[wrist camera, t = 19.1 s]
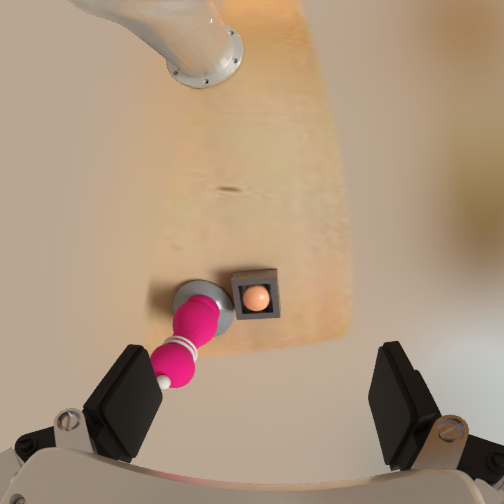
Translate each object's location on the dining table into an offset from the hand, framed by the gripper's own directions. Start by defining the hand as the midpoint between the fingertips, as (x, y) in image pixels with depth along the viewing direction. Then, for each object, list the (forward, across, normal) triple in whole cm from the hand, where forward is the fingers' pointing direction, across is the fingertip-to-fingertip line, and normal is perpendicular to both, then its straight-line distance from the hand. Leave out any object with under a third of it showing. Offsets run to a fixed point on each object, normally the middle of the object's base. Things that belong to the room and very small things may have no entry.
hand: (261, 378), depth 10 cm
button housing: (+35, +4, +12) cm, 37 cm away
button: (+34, +4, +12) cm, 36 cm away
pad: (+35, +14, +16) cm, 41 cm away
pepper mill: (+34, +13, +16) cm, 40 cm away
